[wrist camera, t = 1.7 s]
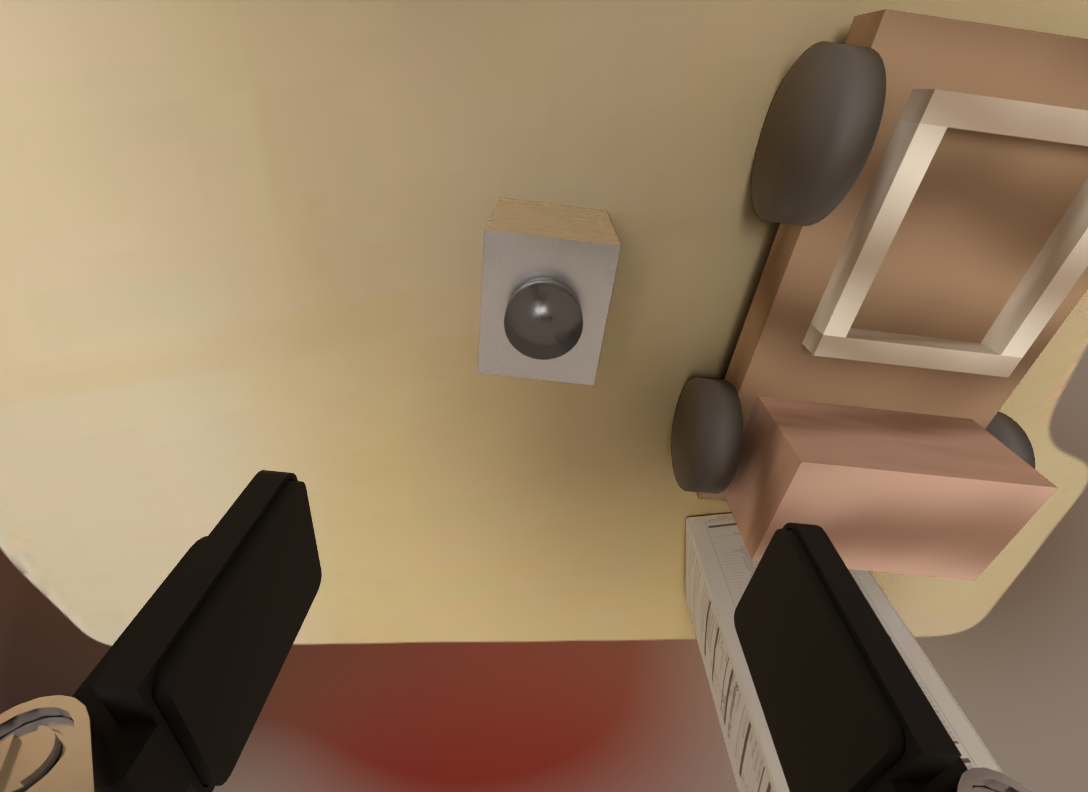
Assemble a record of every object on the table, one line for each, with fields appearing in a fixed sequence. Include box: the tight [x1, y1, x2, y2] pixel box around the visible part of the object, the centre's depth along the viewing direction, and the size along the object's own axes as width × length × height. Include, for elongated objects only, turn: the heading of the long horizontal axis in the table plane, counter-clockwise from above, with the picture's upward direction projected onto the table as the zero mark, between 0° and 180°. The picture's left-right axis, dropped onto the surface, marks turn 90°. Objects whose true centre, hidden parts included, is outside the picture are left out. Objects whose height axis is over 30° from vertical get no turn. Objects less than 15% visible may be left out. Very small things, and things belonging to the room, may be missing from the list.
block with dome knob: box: [478, 198, 621, 385], centre depth 22 cm, size 6×5×7 cm
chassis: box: [671, 9, 1088, 581], centre depth 22 cm, size 22×16×8 cm
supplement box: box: [686, 513, 1004, 792], centre depth 28 cm, size 10×9×17 cm
